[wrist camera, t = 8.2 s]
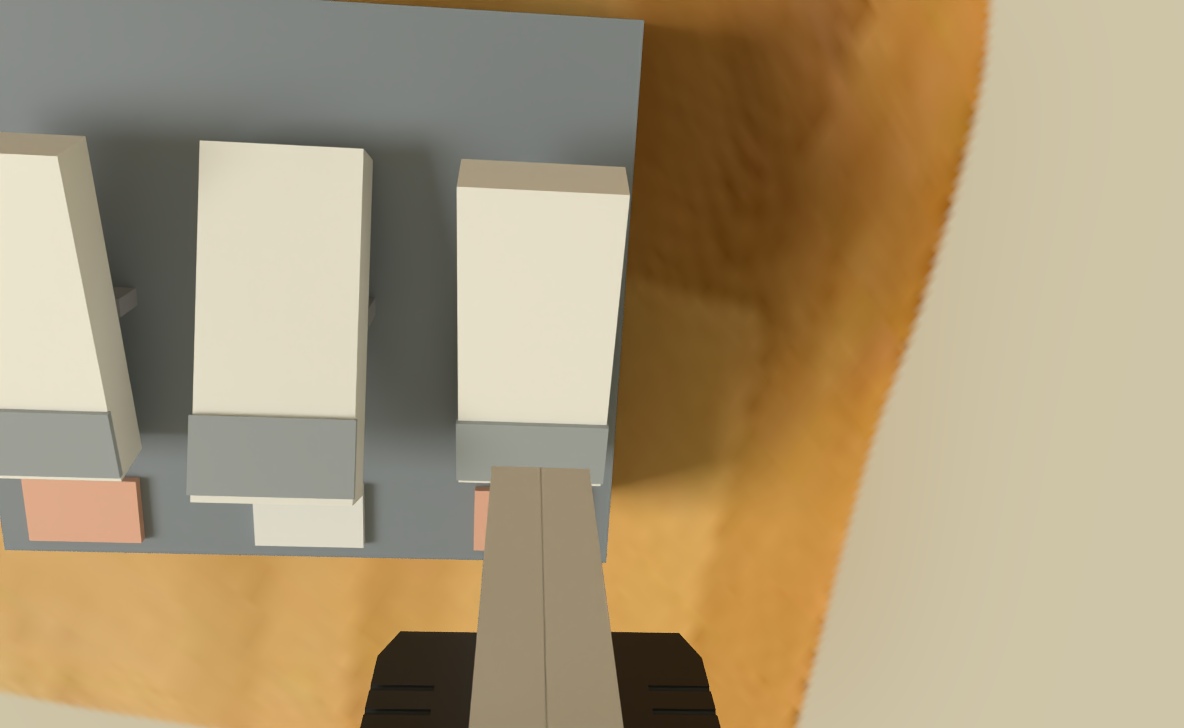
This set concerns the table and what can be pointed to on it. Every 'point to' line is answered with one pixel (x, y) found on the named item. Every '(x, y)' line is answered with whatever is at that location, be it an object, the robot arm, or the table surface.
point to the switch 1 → (58, 320)
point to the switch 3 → (536, 313)
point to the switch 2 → (280, 324)
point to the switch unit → (397, 245)
